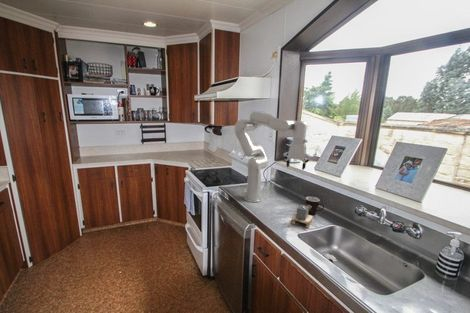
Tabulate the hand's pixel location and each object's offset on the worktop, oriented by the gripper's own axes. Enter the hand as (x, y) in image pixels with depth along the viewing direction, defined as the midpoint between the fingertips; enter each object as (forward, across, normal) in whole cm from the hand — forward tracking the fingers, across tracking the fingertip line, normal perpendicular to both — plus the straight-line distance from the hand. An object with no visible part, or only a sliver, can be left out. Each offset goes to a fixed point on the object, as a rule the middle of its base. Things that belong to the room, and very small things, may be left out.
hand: (295, 167), depth 152 cm
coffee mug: (+31, -13, -6) cm, 34 cm away
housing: (+26, -10, +11) cm, 30 cm away
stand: (+30, -10, +11) cm, 34 cm away
